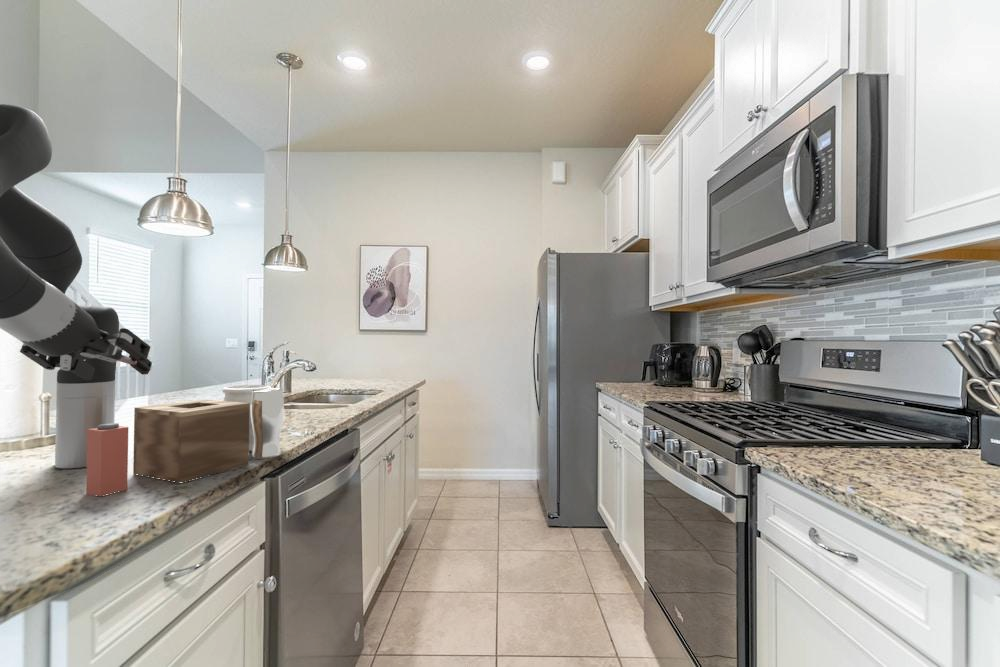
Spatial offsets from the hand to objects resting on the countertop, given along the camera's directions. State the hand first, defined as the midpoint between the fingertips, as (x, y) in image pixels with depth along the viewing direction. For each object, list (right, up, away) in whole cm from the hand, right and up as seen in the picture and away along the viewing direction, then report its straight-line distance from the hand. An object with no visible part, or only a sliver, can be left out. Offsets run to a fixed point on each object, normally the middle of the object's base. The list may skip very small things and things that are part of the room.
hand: (119, 372), depth 76 cm
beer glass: (+9, -22, +29) cm, 38 cm away
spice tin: (-5, -21, +4) cm, 22 cm away
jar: (+1, -22, +36) cm, 42 cm away
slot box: (0, -21, +18) cm, 28 cm away
